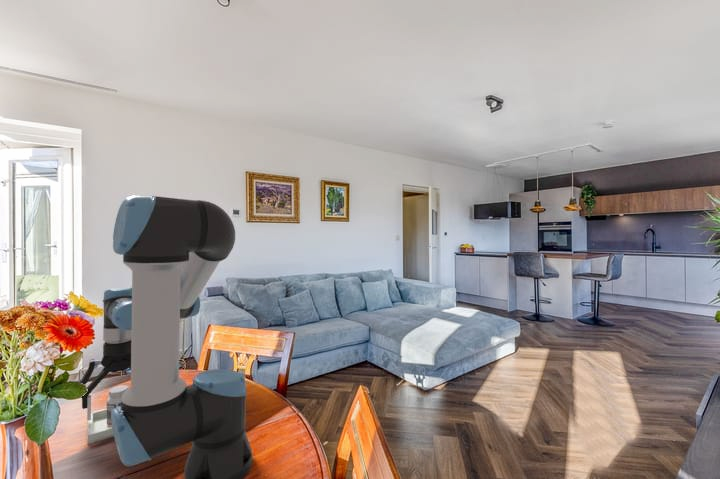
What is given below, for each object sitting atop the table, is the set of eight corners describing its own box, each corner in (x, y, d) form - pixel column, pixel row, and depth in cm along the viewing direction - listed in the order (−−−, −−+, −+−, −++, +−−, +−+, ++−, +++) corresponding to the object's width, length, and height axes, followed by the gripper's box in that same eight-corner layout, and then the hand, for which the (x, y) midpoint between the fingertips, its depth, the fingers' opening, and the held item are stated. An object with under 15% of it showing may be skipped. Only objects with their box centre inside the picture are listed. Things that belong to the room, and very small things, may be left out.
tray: (149, 425, 95) (149, 417, 95) (87, 444, 86) (87, 435, 86) (144, 406, 106) (144, 398, 106) (88, 420, 97) (88, 412, 97)
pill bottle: (131, 414, 100) (131, 382, 100) (130, 423, 95) (130, 390, 95) (107, 420, 97) (107, 387, 97) (105, 429, 92) (105, 395, 92)
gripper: (165, 329, 107) (164, 392, 107) (63, 344, 91) (63, 419, 91) (169, 335, 101) (168, 402, 101) (61, 352, 85) (60, 431, 85)
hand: (118, 410), depth 96 cm, fingers open, 13 cm apart
